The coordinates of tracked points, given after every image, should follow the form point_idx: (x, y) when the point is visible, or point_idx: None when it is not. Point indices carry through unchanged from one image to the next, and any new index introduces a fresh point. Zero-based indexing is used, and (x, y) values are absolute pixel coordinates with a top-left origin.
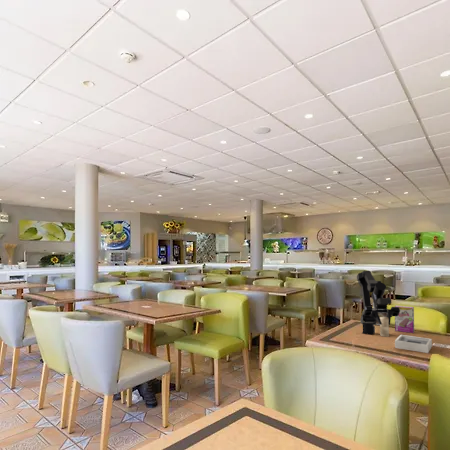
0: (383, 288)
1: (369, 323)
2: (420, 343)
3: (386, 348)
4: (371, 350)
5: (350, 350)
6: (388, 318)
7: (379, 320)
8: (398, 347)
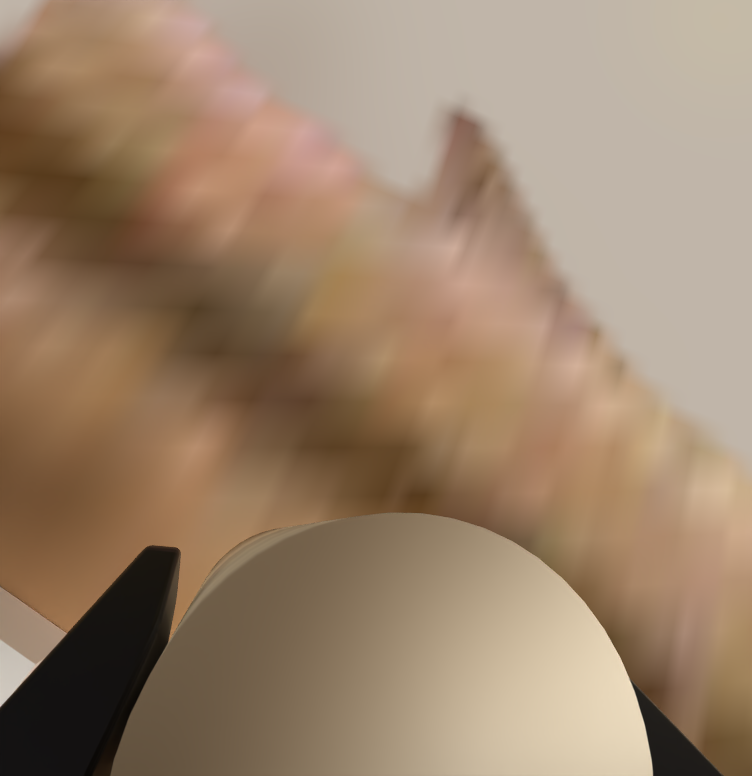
0: None
1: None
2: None
3: None
4: (504, 480)
5: (746, 477)
6: (159, 658)
7: None
8: (23, 608)
